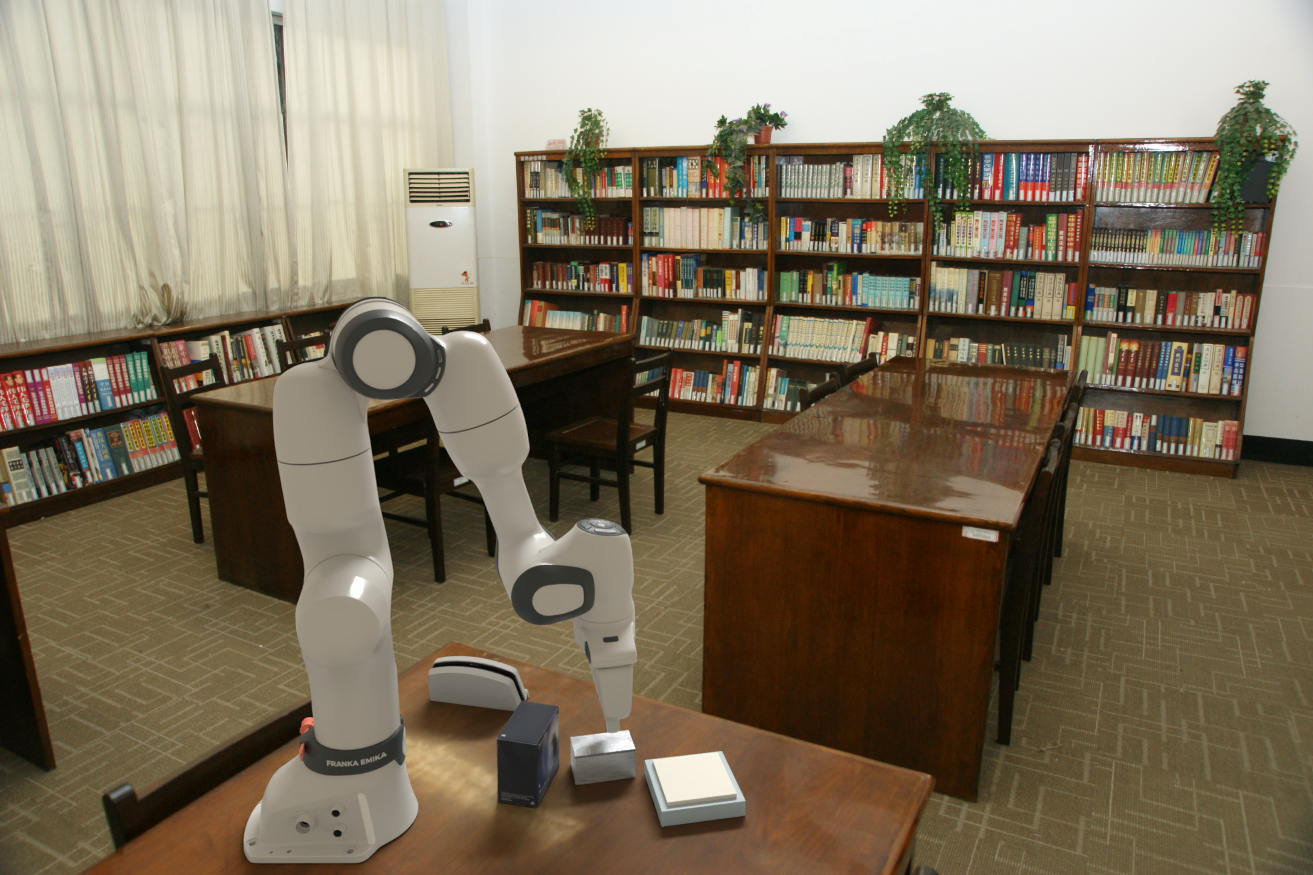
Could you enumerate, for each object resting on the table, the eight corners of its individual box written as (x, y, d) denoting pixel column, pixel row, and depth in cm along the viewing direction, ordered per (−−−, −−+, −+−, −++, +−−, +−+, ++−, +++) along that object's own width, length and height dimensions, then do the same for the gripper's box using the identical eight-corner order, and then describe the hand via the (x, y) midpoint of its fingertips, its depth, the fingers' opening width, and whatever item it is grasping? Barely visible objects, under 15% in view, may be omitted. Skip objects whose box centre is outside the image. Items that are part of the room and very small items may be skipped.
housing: (575, 785, 133) (575, 756, 132) (570, 765, 138) (570, 736, 136) (635, 777, 135) (635, 748, 134) (628, 758, 140) (628, 729, 138)
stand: (661, 826, 124) (661, 807, 124) (644, 773, 136) (644, 756, 135) (745, 815, 127) (745, 796, 126) (721, 764, 138) (722, 747, 137)
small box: (539, 809, 128) (538, 744, 125) (496, 803, 129) (493, 738, 126) (562, 765, 138) (561, 704, 135) (521, 759, 139) (519, 699, 136)
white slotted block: (531, 696, 156) (523, 656, 151) (522, 718, 153) (514, 678, 147) (441, 685, 160) (430, 645, 154) (430, 706, 156) (418, 666, 150)
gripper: (574, 599, 140) (577, 679, 143) (592, 664, 120) (596, 754, 124) (614, 595, 141) (616, 674, 145) (639, 658, 122) (641, 748, 125)
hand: (607, 712), depth 134 cm, fingers open, 8 cm apart
